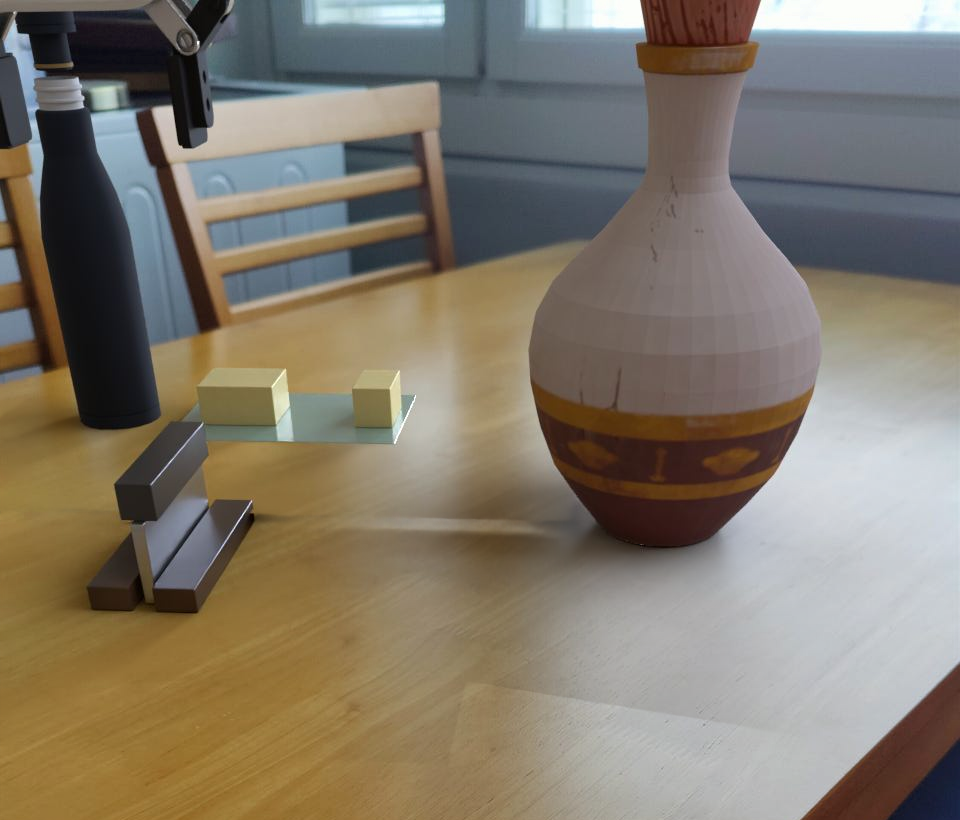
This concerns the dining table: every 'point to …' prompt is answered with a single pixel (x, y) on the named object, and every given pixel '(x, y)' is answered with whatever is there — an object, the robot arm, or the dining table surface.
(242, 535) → the stand
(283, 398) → the butter
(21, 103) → the robot arm
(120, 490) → the black and grey blade
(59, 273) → the black bottle
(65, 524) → the dining table surface
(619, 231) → the ceramic vase
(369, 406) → the butter pat
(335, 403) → the butter dish
